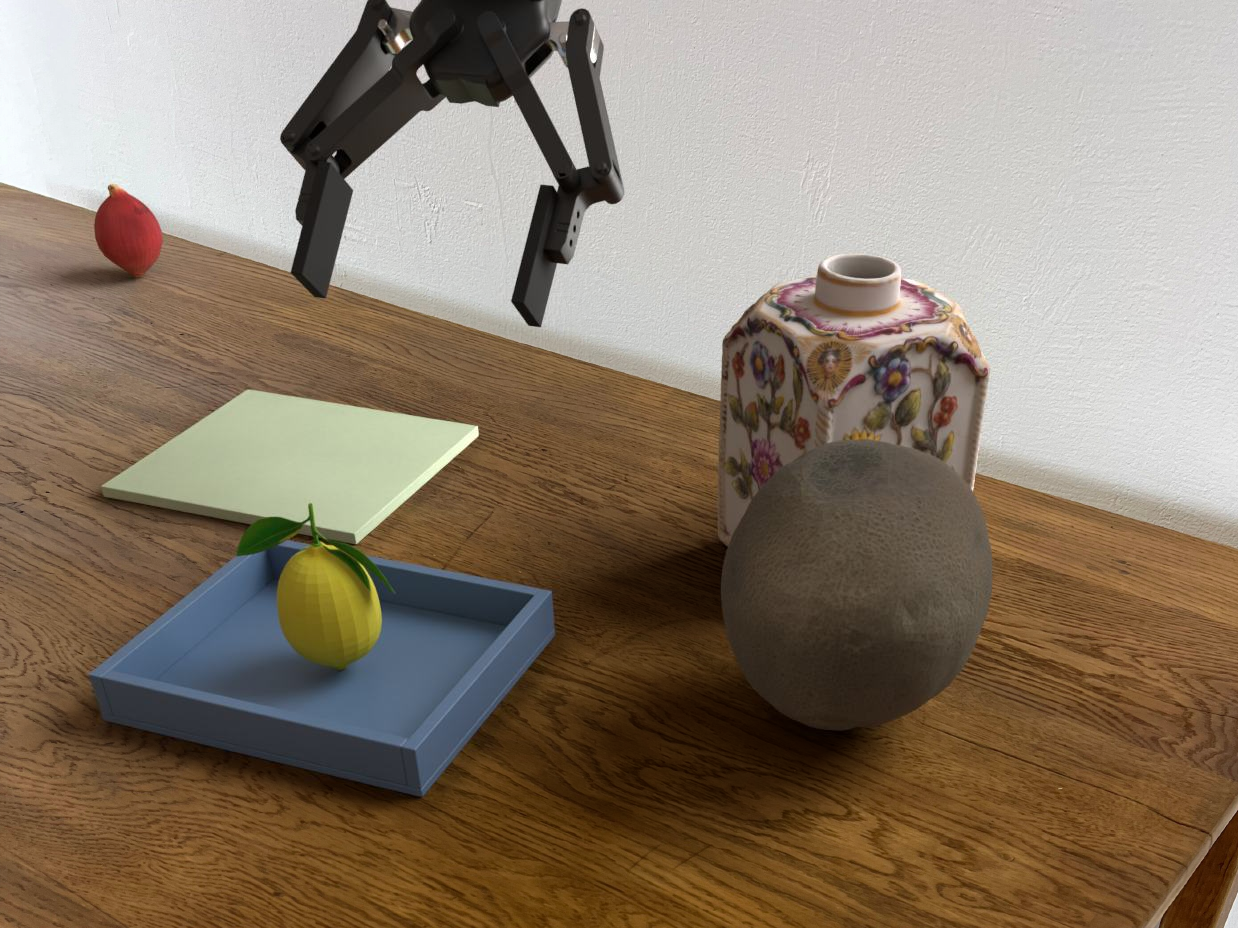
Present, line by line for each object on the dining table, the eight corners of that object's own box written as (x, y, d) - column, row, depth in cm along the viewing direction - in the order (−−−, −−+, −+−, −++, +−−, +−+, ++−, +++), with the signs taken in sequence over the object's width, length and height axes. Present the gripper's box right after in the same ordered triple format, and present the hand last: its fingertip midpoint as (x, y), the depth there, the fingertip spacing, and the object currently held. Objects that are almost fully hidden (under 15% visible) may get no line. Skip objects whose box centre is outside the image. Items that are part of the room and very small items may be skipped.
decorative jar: (712, 540, 89) (717, 250, 77) (861, 502, 93) (888, 221, 81) (807, 624, 81) (830, 316, 69) (965, 579, 85) (1013, 280, 73)
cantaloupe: (660, 708, 75) (658, 447, 65) (841, 622, 82) (865, 373, 72) (843, 833, 67) (873, 558, 57) (1027, 726, 74) (1083, 463, 64)
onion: (155, 262, 131) (133, 171, 125) (181, 277, 127) (159, 184, 122) (97, 275, 128) (71, 182, 123) (121, 291, 125) (97, 196, 119)
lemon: (261, 663, 77) (222, 499, 71) (350, 627, 80) (321, 466, 74) (323, 713, 74) (287, 546, 67) (413, 674, 77) (388, 509, 70)
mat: (103, 497, 94) (100, 486, 94) (250, 399, 107) (247, 388, 106) (356, 545, 89) (354, 533, 88) (479, 436, 101) (478, 425, 101)
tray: (103, 720, 74) (87, 674, 72) (271, 578, 86) (261, 534, 84) (422, 797, 69) (414, 750, 67) (555, 635, 81) (552, 590, 79)
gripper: (733, -5, 76) (642, 359, 76) (343, -30, 83) (258, 307, 82) (703, -111, 69) (602, 292, 69) (279, -129, 75) (184, 239, 75)
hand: (414, 301), depth 75 cm, fingers open, 13 cm apart
